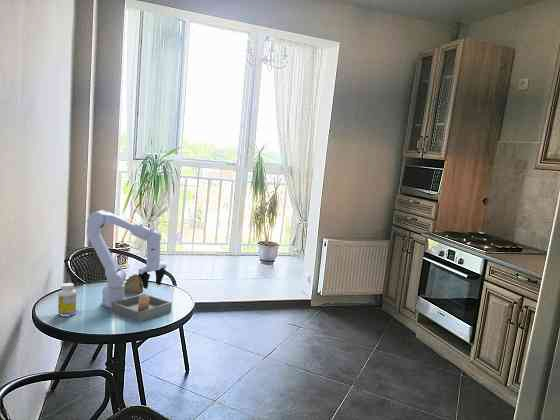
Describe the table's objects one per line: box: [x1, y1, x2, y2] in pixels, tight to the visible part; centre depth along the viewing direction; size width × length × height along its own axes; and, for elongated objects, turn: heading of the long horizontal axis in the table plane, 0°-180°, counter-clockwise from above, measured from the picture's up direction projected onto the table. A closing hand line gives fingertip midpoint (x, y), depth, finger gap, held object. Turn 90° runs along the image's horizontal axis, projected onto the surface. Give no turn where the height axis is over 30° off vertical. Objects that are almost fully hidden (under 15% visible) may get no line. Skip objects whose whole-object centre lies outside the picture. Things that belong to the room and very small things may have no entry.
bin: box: [110, 293, 173, 323], centre depth 184 cm, size 18×18×4 cm
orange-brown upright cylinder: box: [138, 294, 150, 311], centre depth 183 cm, size 5×5×6 cm
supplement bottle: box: [57, 282, 77, 316], centre depth 174 cm, size 7×7×13 cm
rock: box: [124, 274, 144, 295], centre depth 208 cm, size 11×9×10 cm
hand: (151, 286), depth 190 cm, fingers open, 7 cm apart
